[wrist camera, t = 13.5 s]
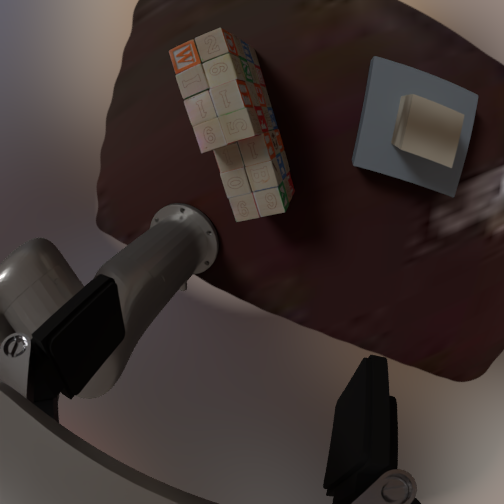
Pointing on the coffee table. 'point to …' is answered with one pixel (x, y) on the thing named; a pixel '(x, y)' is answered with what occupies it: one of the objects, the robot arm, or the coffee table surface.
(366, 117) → the slate base plinth
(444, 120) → the cream block
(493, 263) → the coffee table surface
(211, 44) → the stack of blocks
